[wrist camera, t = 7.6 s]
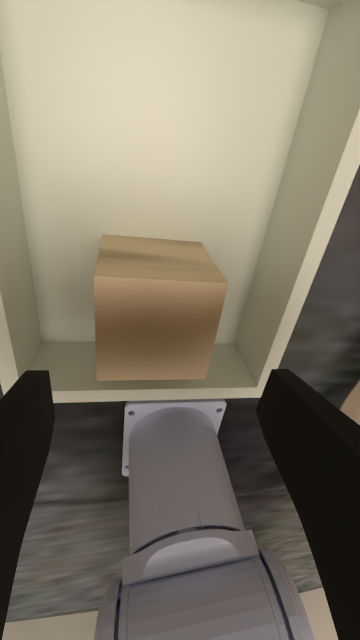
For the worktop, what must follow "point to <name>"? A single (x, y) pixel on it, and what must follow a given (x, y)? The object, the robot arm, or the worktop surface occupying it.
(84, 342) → the tote
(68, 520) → the worktop surface
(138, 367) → the beech cube
